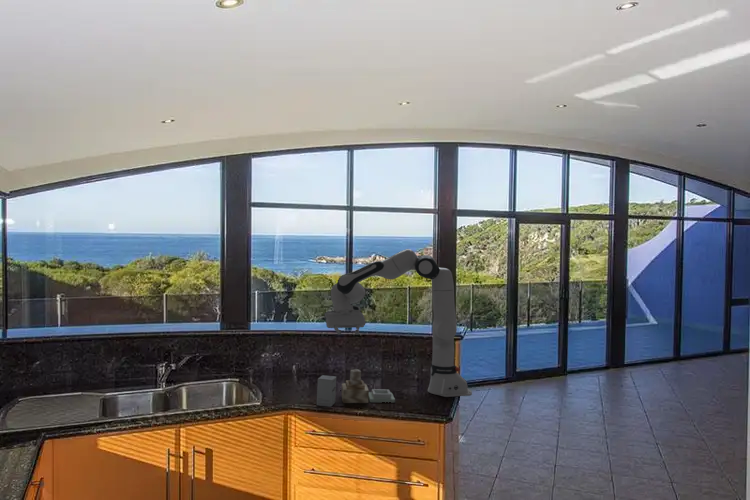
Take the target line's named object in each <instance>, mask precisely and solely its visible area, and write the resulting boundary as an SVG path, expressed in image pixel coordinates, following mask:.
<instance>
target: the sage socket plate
mask: <svg viewBox="0 0 750 500" xmlns="http://www.w3.org/2000/svg"><path fill="white" fill-rule="evenodd" d="M368 402H369V403H381V404H382V402H385V403H386V402H388V403H389V402H391V403H393V404H394V403H396V398H395V397H394V394H393V393H392V392H391V391H390V389H383V388H381V389H380V388H379V389H378V388H372V389H371V391H369V397H368ZM391 403H390V404H391Z"/></svg>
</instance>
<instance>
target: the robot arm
mask: <svg viewBox="0 0 750 500" xmlns="http://www.w3.org/2000/svg"><path fill="white" fill-rule="evenodd" d="M410 271H416V273H417V275H418V276H420V277H421V278H425V279H429V280H431V288H432V289H431V290H432V307H433V309H432V310H433V322H432V356H431V364H430V365H431V366H430V380H429V384H428V388H427V392H428V393H430V394H433V395H435V396H436V395H437V396H441V397H444V398H449V397H454V398H455V397H470V396H472V395H473V392H472V390H471V389H470V388H469V387H468V383H467V380H466V379H465V377H463V376H462V375H461V374H460V373H458V372H460V367H458V366H457V365H455V364H454V363H455V339H454V338H455V336H456V334H457V329H458V328H457V327H458V326H457V316H456V306H455V283H454V279H453V278H454V277H453V273H452V271H451V270H450V269H449V268H446V267H439V266H438V264H437V261H436V259H435V258H434V257H433V256H432V255H428V254H422V255H421V254H419V255H417V254H416V253H415V251H414V250H412V249H410V248H406V249H402V250H401V251H399V252H396V253H395V254H393V255H391V256H390V257H388V258H386V259H383V260H380V261H379V260H377V261H373V262H371V263H369V264H367V265H365V266H362V267H360V268H358V269H357V270H354V271H352V272H348V273H344V274H342V275H341V276H339V278H338V280H337V281H336V282H337V283H335V284H333V285H332V287H331V289H330V297H331V303H332V305H333V310H332V311H330V310H329V311H328V310H327V311H326V312H324V314H323V315H324V318H325V325H326V327H327V328H328V329H333V330H334V331H335V332H336V333H337V335H338V336H339V335H341V334H342V330H341V329H345V328H346V329H348V328H349V329H350V328H356V329H355V331H354V333H355V335H359V334H360V328H364V327H365V326H366V318H365V316H364V313H363V312H362V309H361V307H360V306H357V305H353V304H358V303H360V302H361V301H363V300H364V299H365V297H366V289H365V288H364V286H363V285H362V284H361V283H360V282H362V281H365V280H367V279H368V278H371V277H381V278H384V279H386V280H395V279H398V278H399V277H401V276H403V275H404V274H405V273H407V272H410Z"/></svg>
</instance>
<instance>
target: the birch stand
mask: <svg viewBox="0 0 750 500" xmlns="http://www.w3.org/2000/svg"><path fill="white" fill-rule="evenodd" d="M369 392H370V390H369V388H368V385H367V383H365V382H364V380H361V385H350V379H349V380H345V383H341V400H342V403H343V404H369V398H368V397H369Z"/></svg>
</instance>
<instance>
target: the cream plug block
mask: <svg viewBox="0 0 750 500" xmlns="http://www.w3.org/2000/svg"><path fill="white" fill-rule="evenodd" d="M349 375H350V376H349V381H350V385H361V381H362V378H361V377H362V371H361V370H360V369H357V368H356V369H350V371H349Z"/></svg>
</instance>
